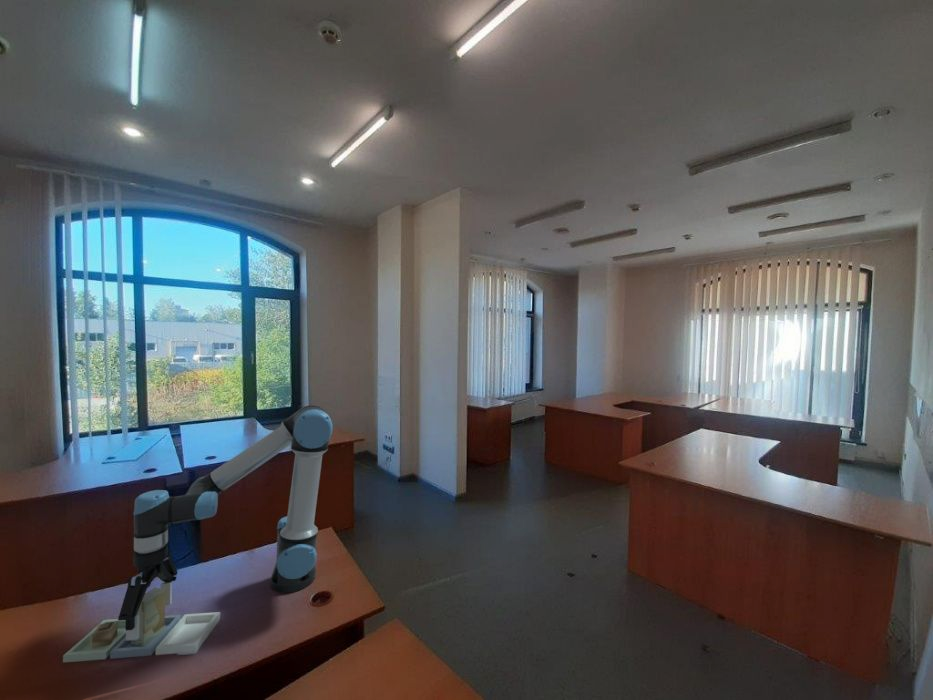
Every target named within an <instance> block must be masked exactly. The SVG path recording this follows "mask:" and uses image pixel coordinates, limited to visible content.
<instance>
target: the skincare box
mask: <svg viewBox="0 0 933 700" xmlns="http://www.w3.org/2000/svg"><path fill="white" fill-rule="evenodd" d="M165 601H166V590H164V589H161V588H159V587H154V588H152V589H150V590H148V591H146V592H145V595H144V597H143V600H142V602H141V605H140V607H139V610H138V612H137V614H139V638H138V639H137V640H131V644H133V645H137V646H145V645H146V644H147V643H149V642H150V641H152V640H153V639H154V638H156V637H157V636H158V635H160V634H161V633H162V632H163V631H164V622H165V616H166V605H165Z"/></svg>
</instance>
